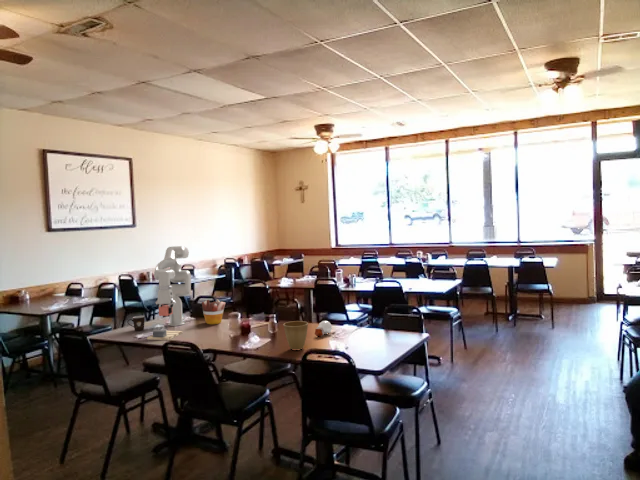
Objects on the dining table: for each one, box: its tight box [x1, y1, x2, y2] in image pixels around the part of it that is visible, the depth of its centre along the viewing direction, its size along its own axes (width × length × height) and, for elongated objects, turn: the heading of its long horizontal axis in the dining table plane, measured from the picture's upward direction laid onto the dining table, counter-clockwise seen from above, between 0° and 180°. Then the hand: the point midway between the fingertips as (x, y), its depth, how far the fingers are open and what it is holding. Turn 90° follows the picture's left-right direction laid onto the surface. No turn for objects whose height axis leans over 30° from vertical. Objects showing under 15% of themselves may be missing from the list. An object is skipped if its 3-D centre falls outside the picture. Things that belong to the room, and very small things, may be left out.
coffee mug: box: [127, 315, 146, 332], centre depth 371 cm, size 12×9×10 cm
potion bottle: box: [314, 320, 333, 337], centre depth 338 cm, size 9×10×15 cm
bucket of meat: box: [201, 298, 226, 325], centre depth 389 cm, size 20×16×20 cm
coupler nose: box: [152, 329, 167, 337], centre depth 342 cm, size 4×8×4 cm, turn 78°
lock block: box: [158, 304, 173, 317], centre depth 351 cm, size 8×6×6 cm
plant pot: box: [283, 320, 309, 350], centre depth 303 cm, size 15×15×16 cm
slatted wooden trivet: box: [146, 330, 183, 341], centre depth 349 cm, size 20×16×2 cm
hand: (165, 313), depth 352 cm, fingers closed on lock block, 6 cm apart
